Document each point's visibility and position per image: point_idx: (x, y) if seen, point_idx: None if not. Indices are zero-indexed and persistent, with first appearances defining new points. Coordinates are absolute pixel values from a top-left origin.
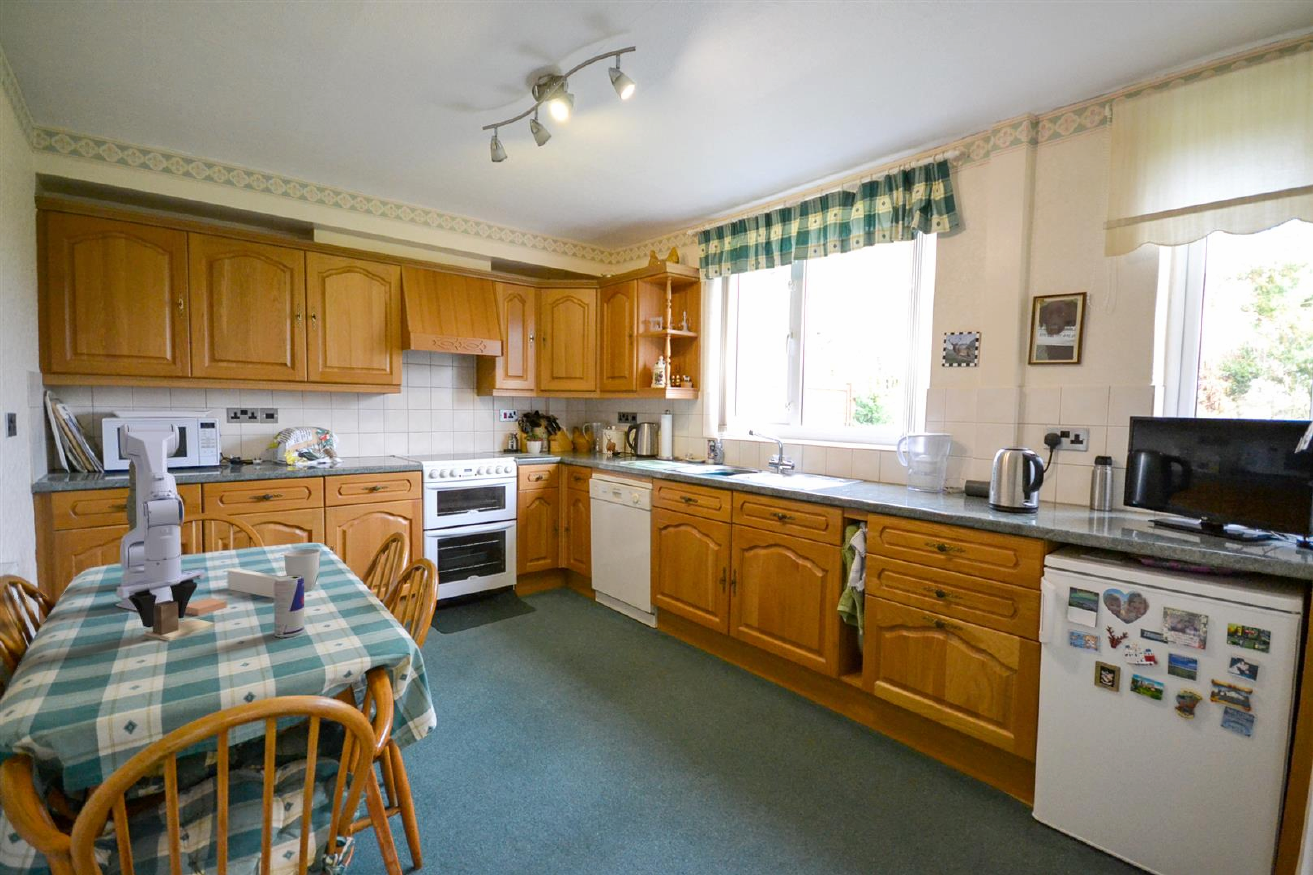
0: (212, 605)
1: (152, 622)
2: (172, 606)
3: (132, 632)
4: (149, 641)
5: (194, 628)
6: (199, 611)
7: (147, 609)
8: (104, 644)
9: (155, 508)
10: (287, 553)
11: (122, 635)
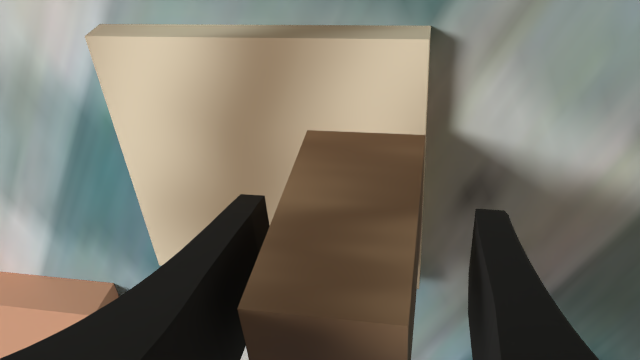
0: (21, 305)
1: (491, 227)
2: (300, 288)
3: (426, 348)
4: (493, 146)
5: (226, 57)
6: (97, 302)
7: (574, 341)
8: (617, 321)
9: None
10: None
11: None
